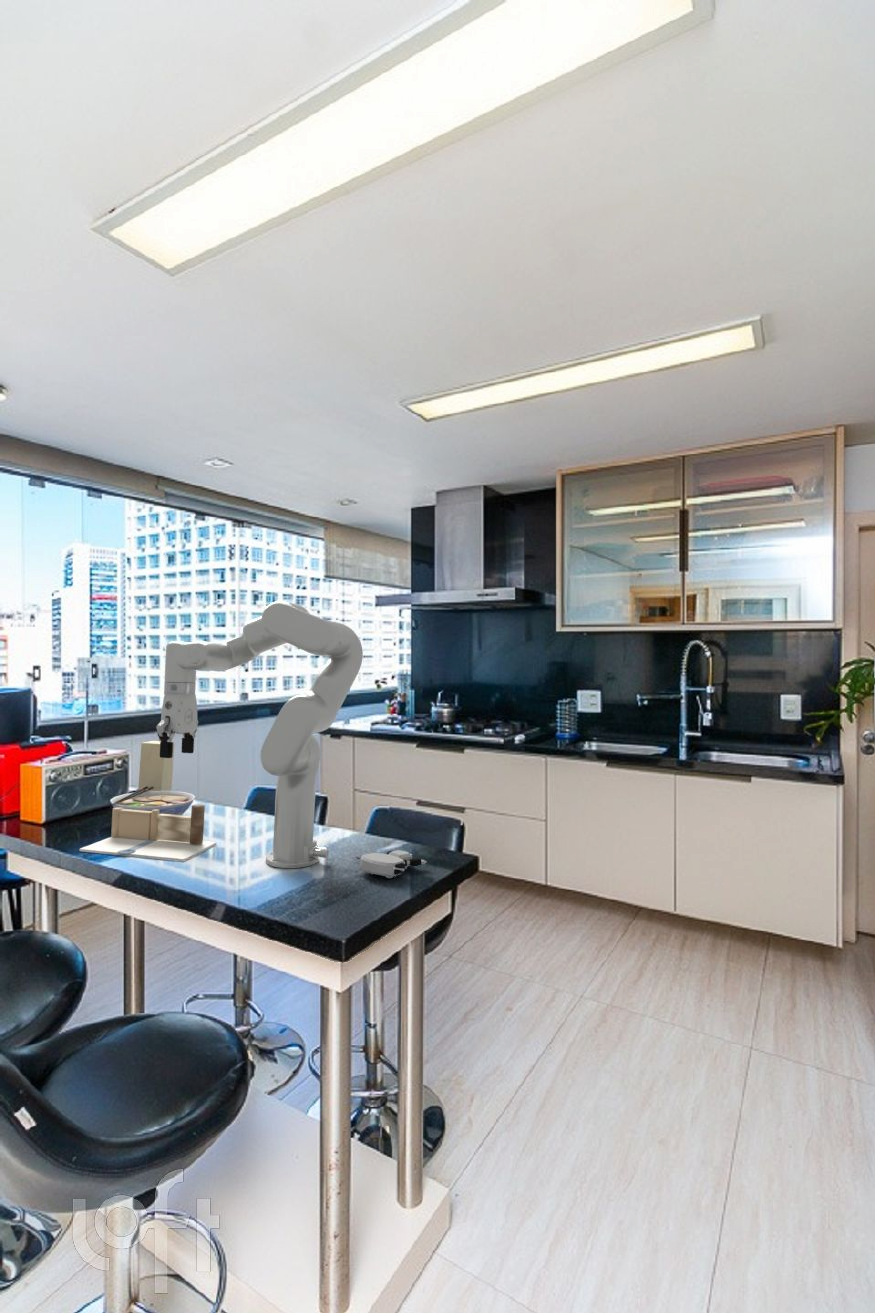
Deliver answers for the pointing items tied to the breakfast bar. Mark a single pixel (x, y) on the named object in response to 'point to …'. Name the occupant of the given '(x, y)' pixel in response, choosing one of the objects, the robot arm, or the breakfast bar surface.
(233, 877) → the breakfast bar surface
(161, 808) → the ramen bowl
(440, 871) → the breakfast bar surface
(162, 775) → the beige tall block
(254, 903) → the breakfast bar surface
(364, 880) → the breakfast bar surface
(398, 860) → the robot toy
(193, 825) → the hinged fence panel
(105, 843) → the layout board with fixed fence
